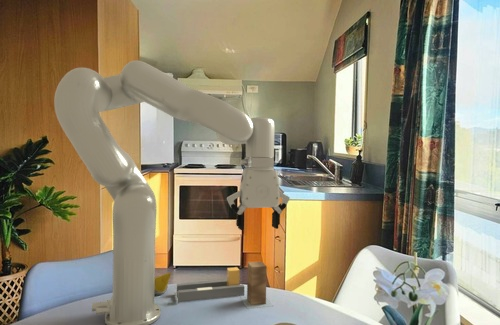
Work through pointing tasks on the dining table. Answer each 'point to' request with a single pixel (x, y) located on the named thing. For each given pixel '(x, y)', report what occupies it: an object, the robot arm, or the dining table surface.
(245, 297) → the mat
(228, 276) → the switch tab
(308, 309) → the dining table surface
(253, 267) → the wooden block
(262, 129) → the robot arm
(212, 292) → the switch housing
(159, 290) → the yellow-filled grey round bowl
